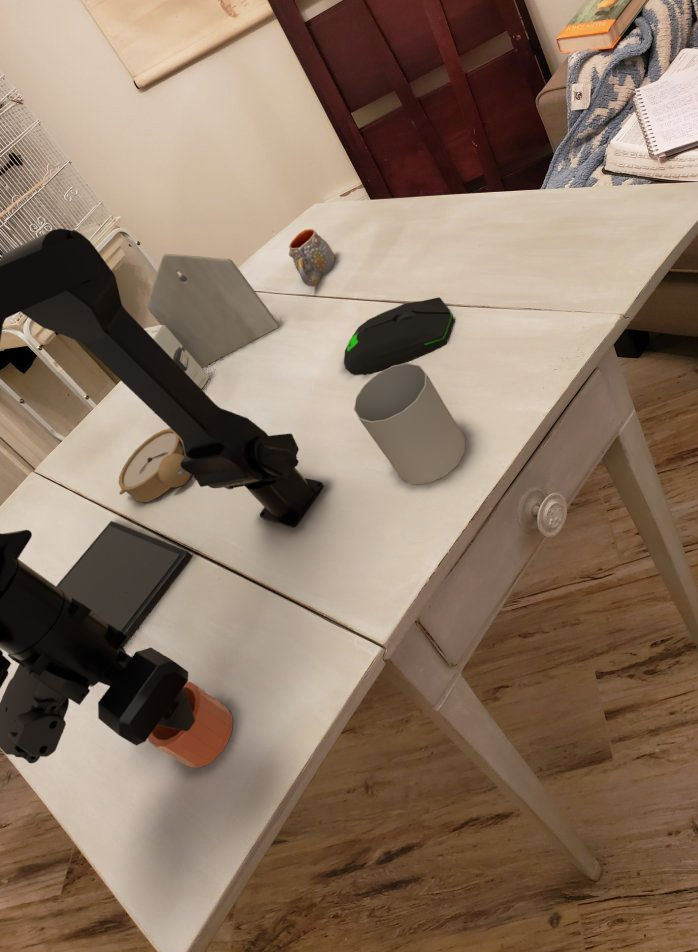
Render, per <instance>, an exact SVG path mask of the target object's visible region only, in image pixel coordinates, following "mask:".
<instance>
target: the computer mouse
mask: <svg viewBox="0 0 698 952" xmlns="http://www.w3.org/2000/svg"><path fill="white" fill-rule="evenodd" d="M454 324H455V317H454V315H453V314H452V312H451V310H450V309H449V308H448V306H447V305H446V304H445V302H444V301H443V299H442V298H441V297H433V298H428V299H425V300H419V301H413V302H406V303H403V304H401V305H398V306H396V307H394V308H391V309H388V310H386V311H384V312H381V313H378V314H377V315H375V316H373V317H371V318H368V319H367V320H366V321H365V322H363V323H362V324H361V325H359V326H358V327H357V329H356V330H355V331H354V333H353V334H352V336H351V338H350V339H349V341H348V342H347V345H346V347H345V349H344V354H343V355H344V356H343V365H344V368H345V370H346V371H348V372H349V373H350V374H351V375H353V376H362V375H370V374H375V373H380V372H382V371H384V370H386V369H388V368H390V367H392V366H395V365H400V364H405V363H409V362H411V361H413V360H415V359H418V358H420V357H423V356H425V355H427V354H430V353H432V352H434V351H435V350H438V349H440V348H441V347H444V346H446V345H447V344H448V342H449V339H450V336H451V333H452V330H453V327H454Z"/></svg>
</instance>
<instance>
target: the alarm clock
mask: <svg viewBox="0 0 698 952" xmlns="http://www.w3.org/2000/svg"><path fill="white" fill-rule="evenodd" d="M184 457H185V452H184V447H183V442H182V439H181V438H180V437H179V436H178V435H177V434H176V433H175V432H174V431H173V430H172V429H171V428H170V427H168V428H166V429H162V430H160V431H159V432H156V433H154V434H153V435H152V436H150V437H149V438H147V439H146V440H145V441H143V443H141V444H140V445H139V446H138V447H137V448H136V449H135V450H134V452H132V454H131V455H130V456H129V457H128V459H127V460H126V462H125V464H124V465H123V467H122V468H121V471H120V473H119V476H118V485H119V488H120V491H119V495H120V496H121V495H123V494H125V493H126V494H128V495H129V496H130V497H131V498H133V499H134V501H136V502H139V503H147V502H151V501H154V500H155V499H157V498H159V497H161V496H163V494H165V493H166V492H168V491H169V490H170V489H171V488H179V487H181V486H184V485H185V484H186V483H187V482H188V481H189V480H190V478H191V476H192V475H191V474H190V473H189V472H187V471H185V470H184V469H183V468H182V467H181V465H180V463H181V461H182V460H183V459H184Z"/></svg>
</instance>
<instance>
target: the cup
mask: <svg viewBox="0 0 698 952" xmlns="http://www.w3.org/2000/svg"><path fill="white" fill-rule="evenodd" d="M353 411H354V412H355V415H356V416H357V419H358V420H359V422H361V424H362V426H363V427H364V428H365V430H366V431H367V433H368V434H369V435H370V436H371V438H372V439H373V441H374V443H375V444H376V445H377V446H378V448H379V449H380V450H381V453H383V455H384V456H385V458H386V459H387V460H388V462H389V463H390V465H391V466H392V468H393V469H394V471H396V473H397V474H398V476H399V477H400V479H401V480H402V481H404V482H407V483H410V485H411V484H412V485H424V484H425V485H426V484H430V483H433V482H434V481H437V480H440V479H442V478H443V477H446V476H447V475H448V474H450V472H451V471H452V470H454V469H455V468H456V467H458V465H459V464H460V461H461V459H462V458H463V456H464V454H465V452H466V437H465V435H464V434H463V432H462V430H461V429H460V427H459V425H458V424H457V422H456V420H455V419H454V417H453V415H452V413H451V412H450V411H449V409H448V406H447V405H446V403H445V402H444V400H443V399H442V396H441V395H440V394H439V392H438V390H437V389H436V387H435V386H434V383H433V382H432V380H431V379H430V377H429V375H428V374H427V372H426V371H425V370H424V369H423V367H422V366H421V365H419V364H415V363H410V362H405V363H403V364H400V365H395V366H392V367H390V368H388V369H386V370H383V371H379V372H377V373H376V374H375V375H374V376H373V377H371V379H369V380H368V381H367V382H366V383H365V384H363V386H362V387H361V389H360V391H359V392H358V393H357V395H356V397H355V400H354V406H353Z"/></svg>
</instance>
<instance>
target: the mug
mask: <svg viewBox="0 0 698 952" xmlns="http://www.w3.org/2000/svg"><path fill="white" fill-rule="evenodd" d="M288 248H289V251H288V256H289V257H290V258H292V263H294V264H293V265H294V267H295V269H296V272H298V274H299V277H300V278H301V281H302V282H303V284H304V285H306V286H308V287H315V286H317V285H318V283H319V282H320V280H321V279H322V277H324V276H325V275H326V274H328V273H329V272H330V271H331V270H332V268H333V267H334V264H335V258H336V255H335V254H334V252H333V249H332V248H331V246H330V245H329V243H328V242H327V241H326V240H325V239H324V238H323V237H322V236H321V235H319V234H318V233H317V232H316V230H315V229H313V228H307V229H304V230H302V231H300V232H298V234H297V235H296V236H295V237H294V238H293V239H292V240H291V241H290V243H289V245H288Z"/></svg>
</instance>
